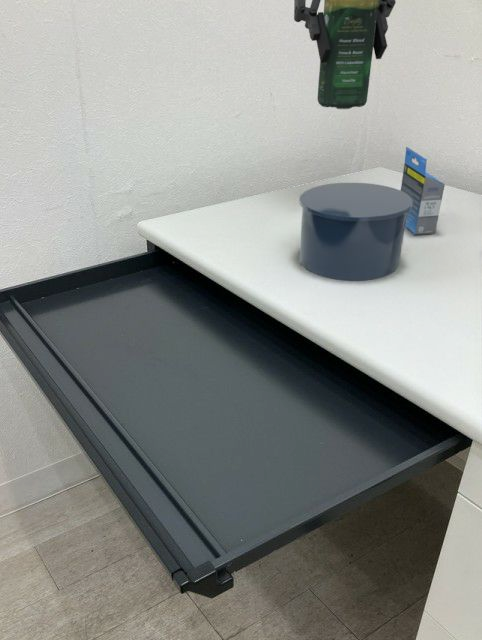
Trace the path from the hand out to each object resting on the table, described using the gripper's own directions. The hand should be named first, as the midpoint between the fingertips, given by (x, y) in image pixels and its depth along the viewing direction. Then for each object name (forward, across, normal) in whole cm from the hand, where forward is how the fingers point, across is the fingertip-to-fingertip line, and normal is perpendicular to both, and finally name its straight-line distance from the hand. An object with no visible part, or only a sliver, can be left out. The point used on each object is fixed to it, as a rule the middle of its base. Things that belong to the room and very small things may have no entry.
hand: (353, 54), depth 90 cm
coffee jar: (+3, 0, -8) cm, 9 cm away
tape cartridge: (+22, -12, -16) cm, 30 cm away
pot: (+30, +4, -8) cm, 31 cm away
